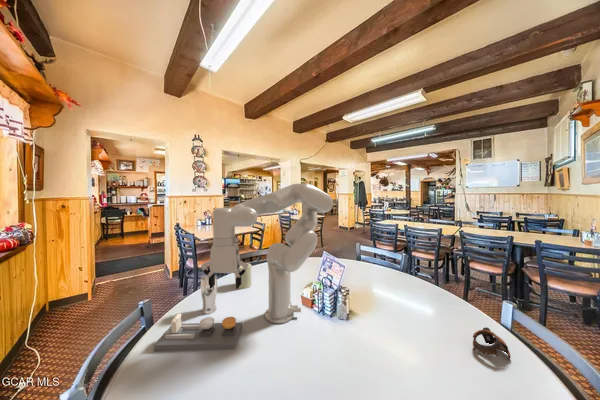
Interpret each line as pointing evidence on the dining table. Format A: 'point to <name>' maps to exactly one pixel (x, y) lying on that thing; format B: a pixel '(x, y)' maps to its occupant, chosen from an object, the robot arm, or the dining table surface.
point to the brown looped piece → (489, 338)
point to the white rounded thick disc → (206, 323)
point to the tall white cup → (208, 295)
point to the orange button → (229, 322)
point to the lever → (176, 324)
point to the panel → (199, 338)
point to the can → (245, 278)
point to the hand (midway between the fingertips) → (225, 286)
